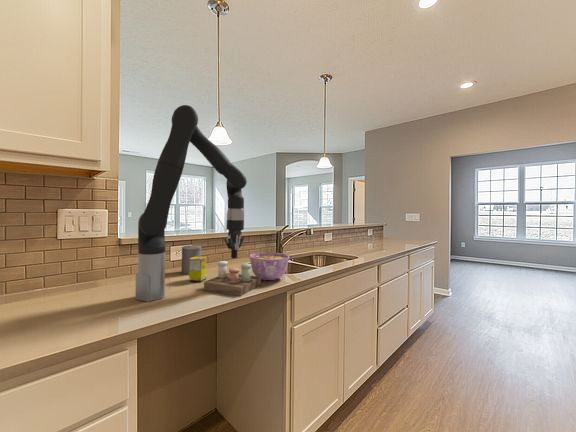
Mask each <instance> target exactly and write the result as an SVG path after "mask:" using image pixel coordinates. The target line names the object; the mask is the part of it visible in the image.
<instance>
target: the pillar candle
mask: <svg viewBox="0 0 576 432" xmlns="http://www.w3.org/2000/svg"><path fill="white" fill-rule="evenodd" d="M193 257H202V246H201V245H193V244H191V245H184V246H182V247H181V274H183V275H189V260H190V258H193Z"/></svg>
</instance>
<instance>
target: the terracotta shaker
mask: <svg viewBox="0 0 576 432" xmlns="http://www.w3.org/2000/svg"><path fill="white" fill-rule="evenodd" d="M239 272H240V268H237V267H231V268H229V269H228V273H230V281H238V274H239Z"/></svg>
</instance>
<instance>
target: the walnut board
mask: <svg viewBox="0 0 576 432" xmlns="http://www.w3.org/2000/svg"><path fill="white" fill-rule="evenodd" d="M241 280H242V273H238V281H230V272H227V278H224V279H220V278H218V276H216V277H213V278H210V279H208V280H204V281H203V291H208V292H214V293H221V294H225V295H226V294H227V295H231V296H232V295H233V296H239V297H242V296H244V295H245V294H247V293H249V292H250V291H252V290H254V289H255V288H258V287H260V286H261V285H262V279H261V277H257V276H256V275H250V281H249V282H242V281H241ZM257 286H258V287H257Z"/></svg>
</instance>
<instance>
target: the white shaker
mask: <svg viewBox="0 0 576 432" xmlns="http://www.w3.org/2000/svg"><path fill="white" fill-rule="evenodd" d="M228 263H229V262H228V261H227V260H226V261H225V260H220V261H217V265H218V266H217V267H218V269H217V277H218V278H220V279H224V278H227V273H228Z"/></svg>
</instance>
